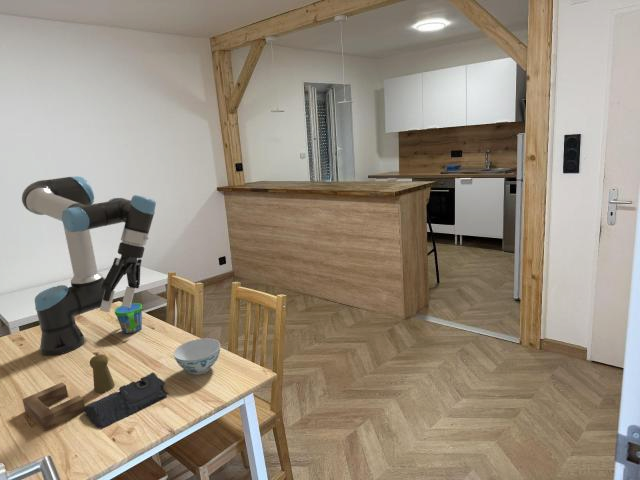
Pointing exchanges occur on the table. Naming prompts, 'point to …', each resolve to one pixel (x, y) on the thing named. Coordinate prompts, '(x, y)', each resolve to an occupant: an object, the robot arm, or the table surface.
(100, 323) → the table surface
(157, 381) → the dark slate chunk
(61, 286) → the robot arm
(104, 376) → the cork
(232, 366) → the table surface
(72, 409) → the walnut pocket
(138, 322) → the snack cup
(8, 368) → the table surface
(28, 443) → the table surface
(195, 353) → the chinaware
